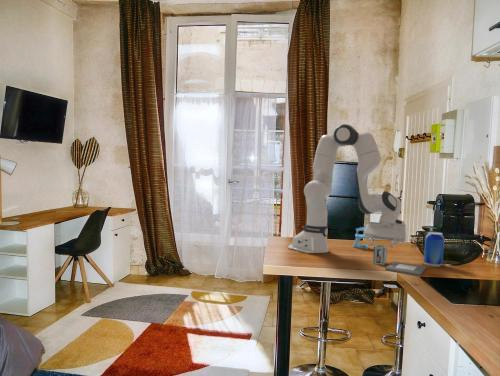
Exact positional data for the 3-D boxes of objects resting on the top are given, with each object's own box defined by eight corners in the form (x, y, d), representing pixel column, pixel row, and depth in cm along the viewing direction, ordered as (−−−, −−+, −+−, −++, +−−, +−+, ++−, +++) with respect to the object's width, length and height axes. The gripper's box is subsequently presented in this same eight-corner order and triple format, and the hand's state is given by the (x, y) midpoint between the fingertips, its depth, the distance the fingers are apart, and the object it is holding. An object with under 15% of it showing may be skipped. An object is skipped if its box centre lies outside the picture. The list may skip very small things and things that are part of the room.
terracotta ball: (375, 263, 193) (373, 258, 192) (377, 260, 195) (375, 255, 195) (381, 263, 191) (379, 257, 190) (383, 259, 193) (381, 254, 193)
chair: (352, 245, 233) (353, 225, 232) (367, 246, 231) (368, 226, 231) (353, 248, 226) (354, 227, 225) (368, 249, 224) (369, 228, 223)
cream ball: (378, 249, 193) (383, 249, 193) (376, 253, 195) (381, 253, 195) (381, 254, 190) (386, 254, 191) (379, 258, 192) (384, 257, 193)
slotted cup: (373, 263, 192) (374, 246, 192) (375, 261, 197) (376, 244, 196) (383, 265, 190) (384, 248, 189) (386, 263, 194) (387, 246, 193)
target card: (385, 269, 181) (385, 267, 181) (393, 263, 194) (393, 260, 194) (419, 276, 173) (420, 273, 173) (426, 268, 186) (426, 266, 186)
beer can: (424, 265, 191) (426, 233, 190) (423, 261, 199) (425, 230, 198) (443, 268, 188) (445, 235, 187) (441, 263, 196) (443, 232, 195)
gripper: (366, 217, 205) (359, 239, 197) (407, 222, 194) (402, 244, 186) (368, 225, 209) (362, 246, 201) (409, 230, 198) (403, 252, 190)
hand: (381, 245), depth 194 cm, fingers open, 8 cm apart
